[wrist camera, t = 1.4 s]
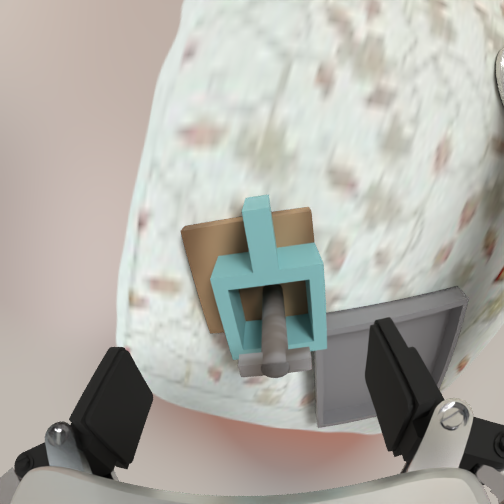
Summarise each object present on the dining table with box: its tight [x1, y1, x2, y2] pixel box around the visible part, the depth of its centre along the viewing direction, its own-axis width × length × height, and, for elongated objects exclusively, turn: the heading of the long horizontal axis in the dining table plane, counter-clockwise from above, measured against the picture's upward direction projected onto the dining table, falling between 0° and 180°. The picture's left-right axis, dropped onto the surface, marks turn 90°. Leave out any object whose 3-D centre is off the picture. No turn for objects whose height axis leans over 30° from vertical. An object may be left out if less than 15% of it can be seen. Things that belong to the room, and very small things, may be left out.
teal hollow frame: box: [210, 195, 327, 360], centre depth 25 cm, size 9×14×4 cm, turn 10°
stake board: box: [181, 207, 314, 378], centre depth 24 cm, size 12×12×12 cm
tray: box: [313, 286, 469, 428], centre depth 32 cm, size 20×20×3 cm
